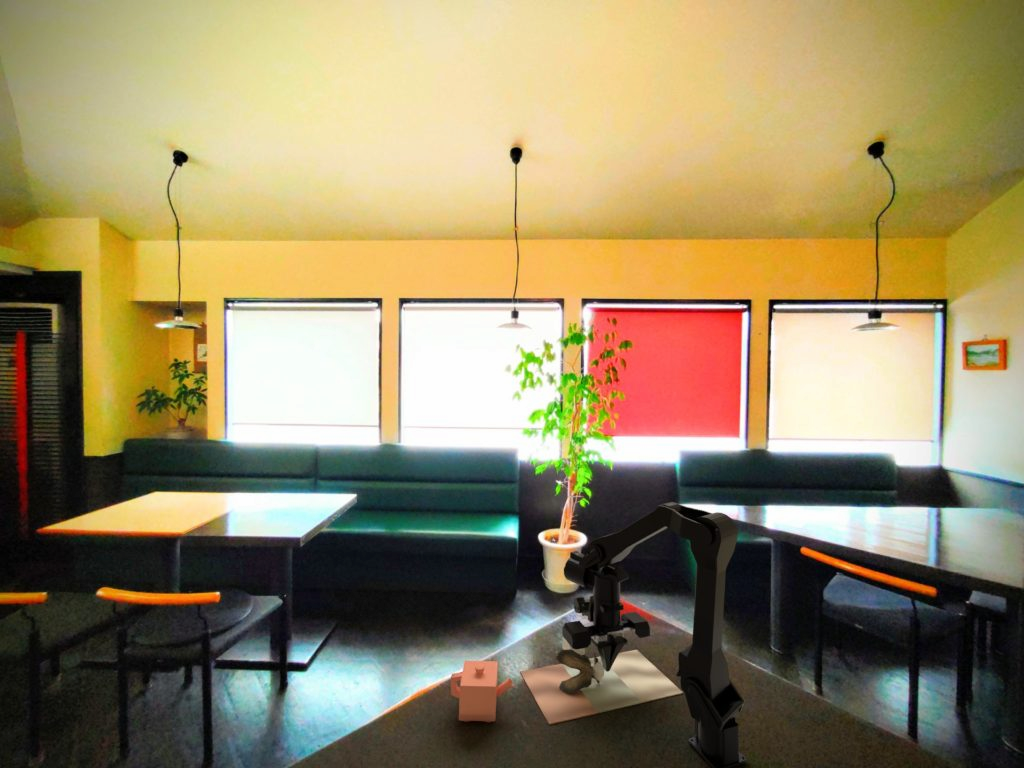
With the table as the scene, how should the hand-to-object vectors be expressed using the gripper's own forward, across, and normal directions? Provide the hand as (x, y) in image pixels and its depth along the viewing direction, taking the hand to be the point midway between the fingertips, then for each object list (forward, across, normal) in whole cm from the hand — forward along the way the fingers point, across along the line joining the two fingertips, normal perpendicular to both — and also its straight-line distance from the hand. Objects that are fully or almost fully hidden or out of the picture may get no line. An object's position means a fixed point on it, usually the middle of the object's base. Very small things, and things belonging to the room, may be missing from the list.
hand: (606, 670), depth 89 cm
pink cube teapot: (+2, +28, +1) cm, 28 cm away
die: (+2, +2, -12) cm, 12 cm away
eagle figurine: (+2, +6, 0) cm, 7 cm away
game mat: (+2, +2, 0) cm, 3 cm away
